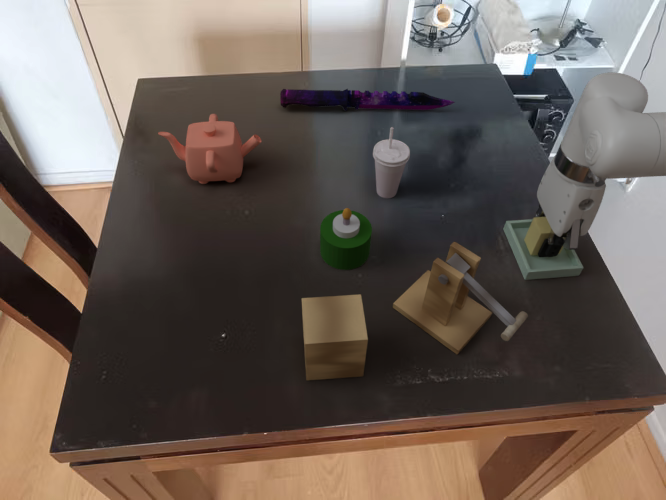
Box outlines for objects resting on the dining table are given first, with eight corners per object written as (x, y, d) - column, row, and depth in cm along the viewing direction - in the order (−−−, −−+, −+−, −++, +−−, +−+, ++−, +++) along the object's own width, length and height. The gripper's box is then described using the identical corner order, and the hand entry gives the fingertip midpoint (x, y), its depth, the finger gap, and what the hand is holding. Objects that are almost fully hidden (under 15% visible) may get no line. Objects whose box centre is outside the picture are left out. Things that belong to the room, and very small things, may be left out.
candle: (311, 256, 89) (309, 215, 81) (336, 225, 94) (337, 183, 86) (354, 277, 86) (357, 236, 79) (378, 244, 91) (383, 202, 83)
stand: (357, 333, 80) (361, 294, 72) (363, 376, 75) (367, 339, 68) (303, 337, 79) (301, 298, 72) (306, 380, 75) (304, 344, 67)
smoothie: (387, 174, 102) (394, 113, 92) (411, 193, 99) (421, 131, 89) (362, 189, 100) (367, 127, 89) (385, 208, 97) (393, 147, 86)
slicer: (490, 316, 82) (513, 264, 72) (457, 355, 78) (476, 305, 68) (427, 274, 87) (440, 219, 77) (392, 307, 83) (401, 254, 73)
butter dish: (579, 275, 87) (583, 267, 86) (524, 280, 87) (528, 272, 85) (553, 225, 95) (557, 217, 93) (503, 229, 94) (506, 220, 92)
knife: (281, 113, 114) (279, 93, 111) (282, 103, 117) (281, 83, 113) (454, 117, 114) (458, 97, 111) (452, 107, 117) (456, 87, 113)
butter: (552, 238, 91) (563, 215, 87) (560, 253, 89) (571, 231, 84) (523, 239, 91) (533, 217, 86) (530, 255, 88) (541, 233, 84)
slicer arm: (522, 320, 74) (532, 314, 72) (503, 343, 72) (512, 338, 70) (453, 254, 76) (461, 246, 74) (433, 274, 74) (440, 267, 72)
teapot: (228, 139, 108) (221, 96, 101) (267, 168, 103) (262, 125, 95) (168, 172, 102) (155, 129, 94) (206, 205, 96) (195, 161, 89)
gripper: (635, 201, 70) (583, 284, 84) (586, 123, 81) (547, 209, 95) (580, 204, 70) (537, 287, 84) (537, 125, 80) (505, 211, 94)
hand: (542, 244), depth 89 cm, fingers closed on butter, 3 cm apart
